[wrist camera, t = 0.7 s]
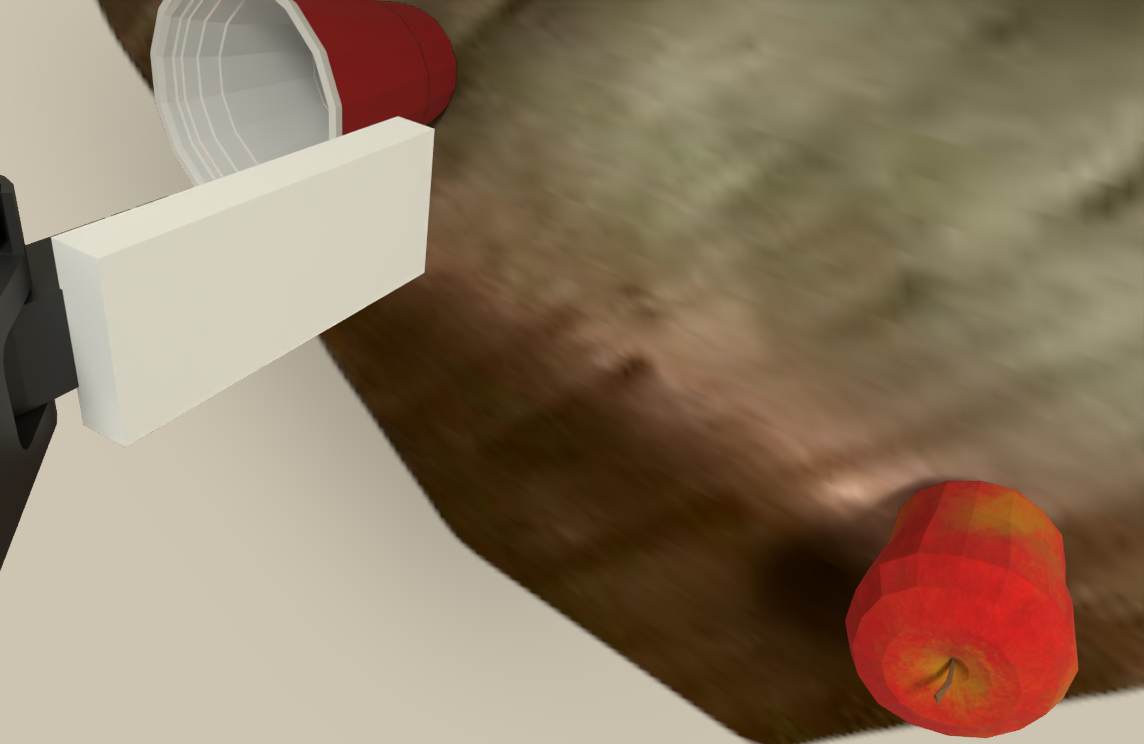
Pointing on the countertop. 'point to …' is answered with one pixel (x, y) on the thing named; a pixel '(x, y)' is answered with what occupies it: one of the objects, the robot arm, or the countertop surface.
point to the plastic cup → (290, 75)
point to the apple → (966, 613)
